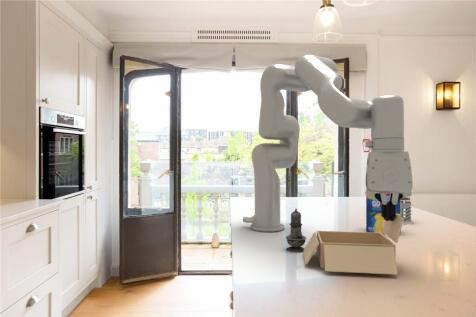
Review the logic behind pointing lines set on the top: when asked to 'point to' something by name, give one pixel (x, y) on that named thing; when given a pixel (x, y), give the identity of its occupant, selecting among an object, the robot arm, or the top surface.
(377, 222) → the beverage box
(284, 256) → the top surface
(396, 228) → the flap
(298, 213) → the weathered iron finial
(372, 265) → the carton
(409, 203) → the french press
